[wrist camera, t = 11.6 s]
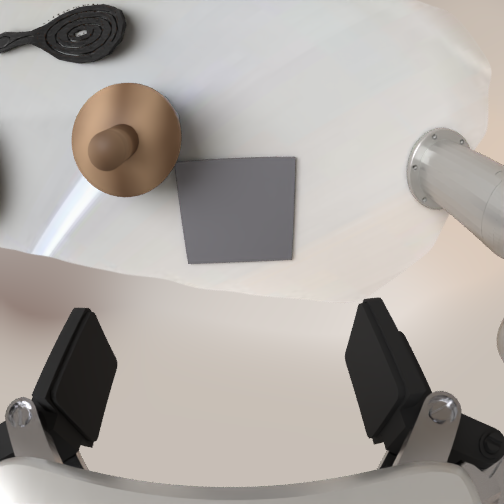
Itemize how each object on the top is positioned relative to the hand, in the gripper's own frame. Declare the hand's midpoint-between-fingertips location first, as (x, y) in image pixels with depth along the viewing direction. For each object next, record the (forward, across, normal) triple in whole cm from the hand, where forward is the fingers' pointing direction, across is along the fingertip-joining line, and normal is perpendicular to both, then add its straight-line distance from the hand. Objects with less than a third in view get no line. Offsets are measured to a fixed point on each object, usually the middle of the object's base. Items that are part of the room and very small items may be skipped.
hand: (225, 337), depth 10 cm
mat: (+30, 0, +9) cm, 32 cm away
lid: (+25, +12, -3) cm, 28 cm away
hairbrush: (+31, +24, -20) cm, 44 cm away
